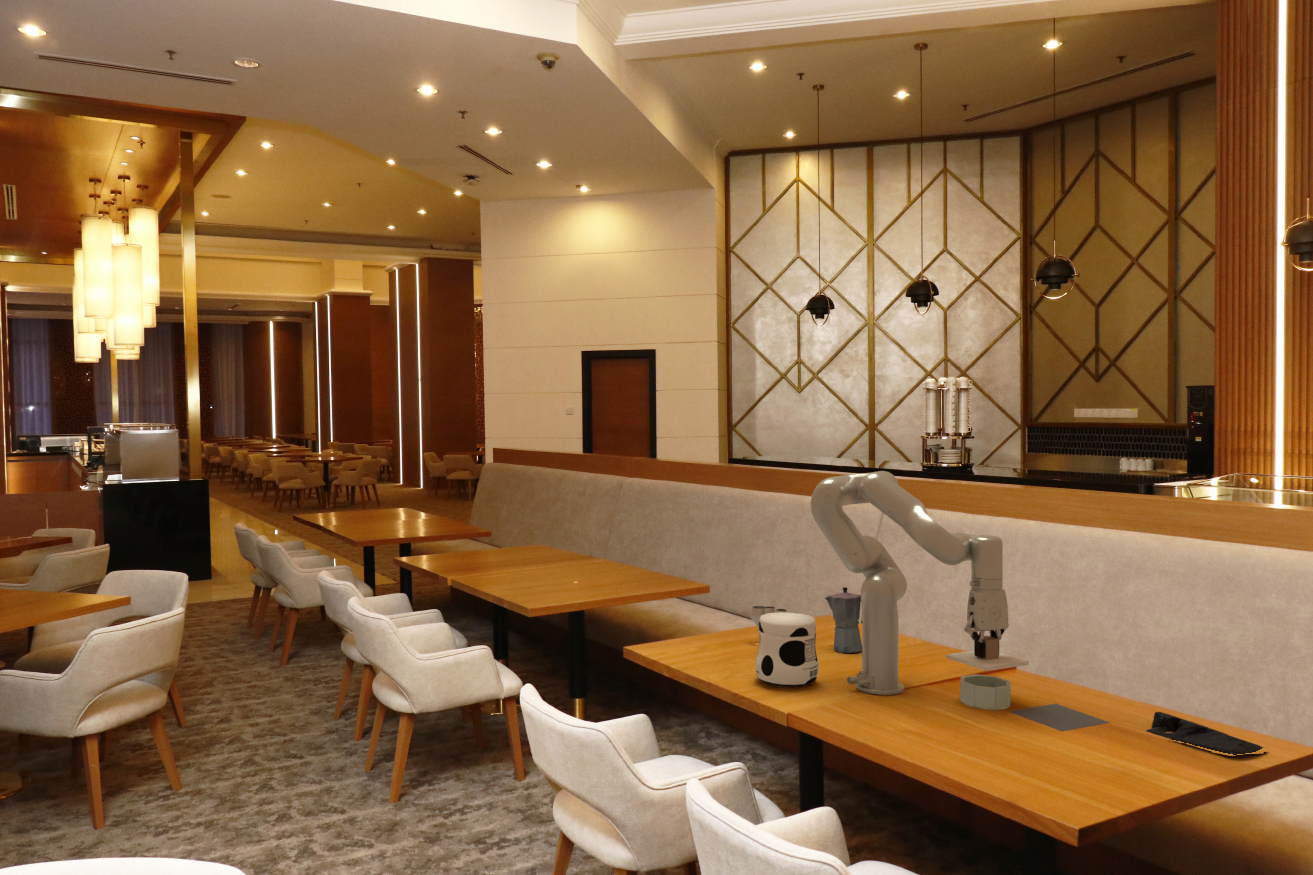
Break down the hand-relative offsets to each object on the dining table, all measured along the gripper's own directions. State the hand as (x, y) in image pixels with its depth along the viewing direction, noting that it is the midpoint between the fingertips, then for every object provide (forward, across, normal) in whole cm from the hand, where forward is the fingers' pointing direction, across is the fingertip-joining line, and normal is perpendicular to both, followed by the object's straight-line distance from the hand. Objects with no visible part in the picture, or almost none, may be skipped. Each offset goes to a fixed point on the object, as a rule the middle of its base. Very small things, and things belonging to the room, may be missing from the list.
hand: (986, 654), depth 235 cm
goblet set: (+12, -19, +68) cm, 71 cm away
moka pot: (+12, +2, +60) cm, 62 cm away
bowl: (+13, 0, 0) cm, 13 cm away
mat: (+13, +8, -16) cm, 22 cm away
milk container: (+12, -36, +37) cm, 53 cm away
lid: (+2, 0, 0) cm, 2 cm away
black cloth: (+14, +26, -40) cm, 50 cm away
